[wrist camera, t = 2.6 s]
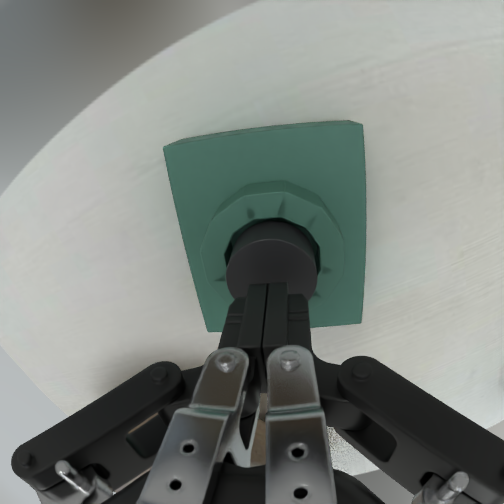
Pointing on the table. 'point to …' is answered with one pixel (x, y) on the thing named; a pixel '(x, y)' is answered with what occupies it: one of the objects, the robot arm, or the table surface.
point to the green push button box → (275, 207)
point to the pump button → (272, 259)
